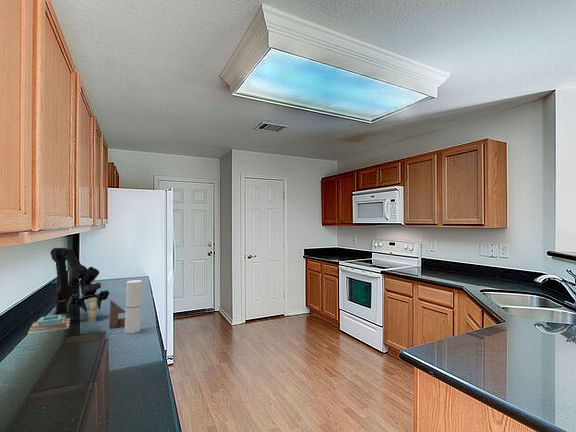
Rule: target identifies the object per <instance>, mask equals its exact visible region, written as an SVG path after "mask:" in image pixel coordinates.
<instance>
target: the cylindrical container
mask: <svg viewBox="0 0 576 432" xmlns="http://www.w3.org/2000/svg"><path fill="white" fill-rule="evenodd" d="M125 290H126V291H125V305H126V307H125V309H124V311H125V313H124V318H125V326H124V334H127V333H131V334H136V333H135V332H137V333H139V332H141V324H142V323H141V321H142V320H141V319H142V318H141V317H142V298H143V297H142V295H143V294H142V293H143V280H142V279H141V280H140V279H136V280H135V279H134V280H133V279H132V280H127V281H126V287H125Z"/></svg>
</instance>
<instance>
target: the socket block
mask: <svg viewBox="0 0 576 432" xmlns="http://www.w3.org/2000/svg"><path fill="white" fill-rule="evenodd" d="M39 319H40V320H39V322H38V325H44V324H52V323H60V322H62V319H63V315H62V314H56V315H49V316H41V317H40V318H39Z"/></svg>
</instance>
